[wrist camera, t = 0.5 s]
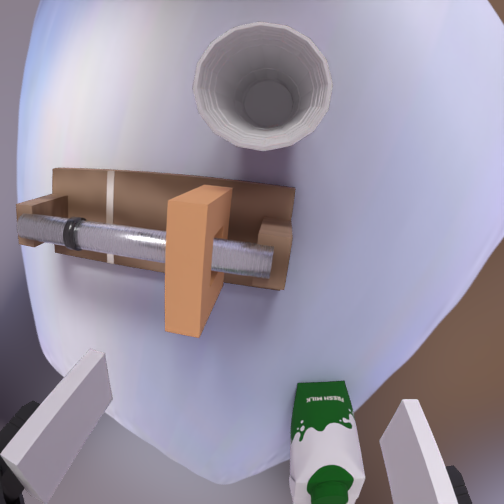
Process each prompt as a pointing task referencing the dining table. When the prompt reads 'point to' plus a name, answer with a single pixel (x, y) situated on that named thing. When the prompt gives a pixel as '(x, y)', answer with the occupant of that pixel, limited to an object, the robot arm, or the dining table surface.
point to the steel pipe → (140, 243)
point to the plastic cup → (262, 86)
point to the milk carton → (324, 446)
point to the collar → (193, 256)
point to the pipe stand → (155, 212)
